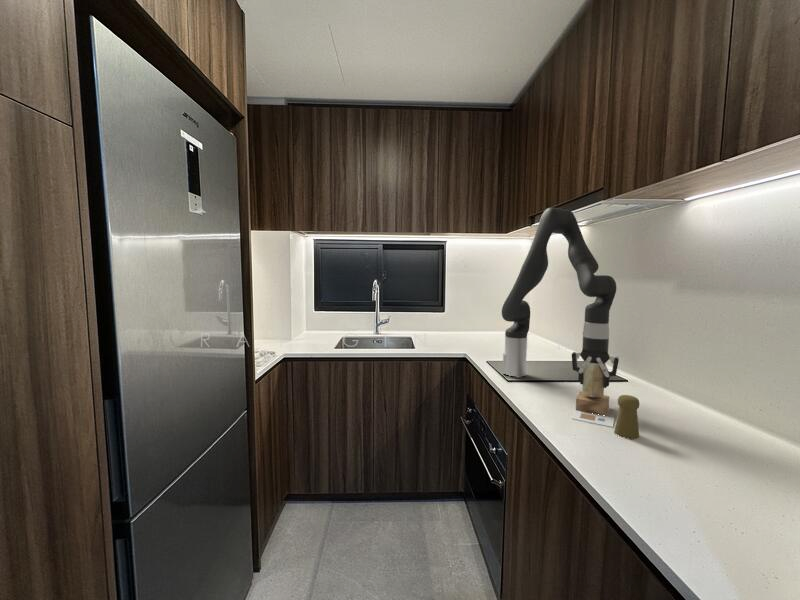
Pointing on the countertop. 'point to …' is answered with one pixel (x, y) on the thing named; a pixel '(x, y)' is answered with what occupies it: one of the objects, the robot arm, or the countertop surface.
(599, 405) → the base brick
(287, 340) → the countertop surface
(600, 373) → the box
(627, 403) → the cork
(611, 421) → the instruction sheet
